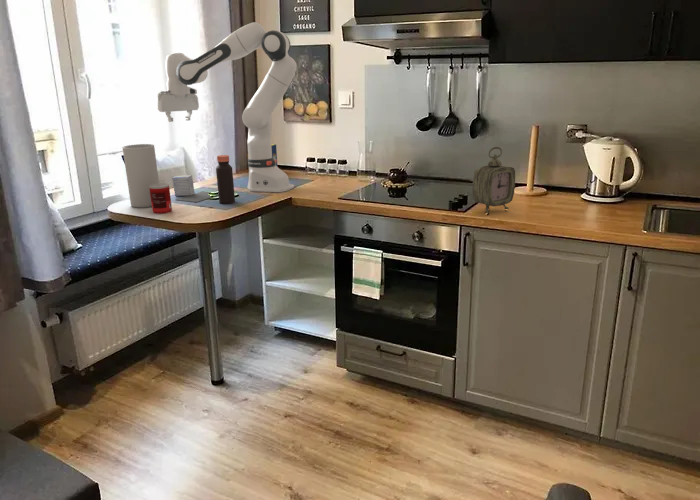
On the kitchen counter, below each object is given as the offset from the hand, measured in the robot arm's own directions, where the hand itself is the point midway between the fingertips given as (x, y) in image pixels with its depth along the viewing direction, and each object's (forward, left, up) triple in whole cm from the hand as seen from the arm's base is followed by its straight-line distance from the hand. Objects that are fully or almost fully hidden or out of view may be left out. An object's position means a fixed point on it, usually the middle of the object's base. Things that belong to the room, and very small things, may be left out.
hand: (179, 121), depth 265 cm
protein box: (-15, -43, -32) cm, 56 cm away
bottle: (-37, +17, -32) cm, 52 cm away
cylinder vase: (-6, +33, -32) cm, 46 cm away
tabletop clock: (-145, -7, -32) cm, 149 cm away
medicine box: (-10, +13, -32) cm, 36 cm away
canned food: (-22, +40, -32) cm, 56 cm away
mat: (-19, +13, -32) cm, 39 cm away
